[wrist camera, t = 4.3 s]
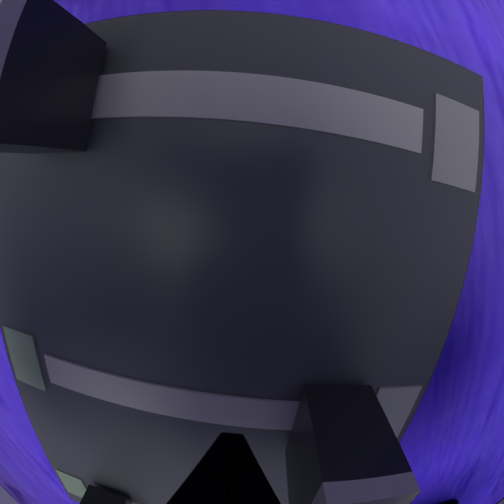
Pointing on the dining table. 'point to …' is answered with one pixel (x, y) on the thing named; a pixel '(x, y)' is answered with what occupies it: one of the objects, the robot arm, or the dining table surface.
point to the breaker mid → (345, 450)
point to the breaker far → (102, 497)
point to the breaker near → (46, 78)
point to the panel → (235, 241)
